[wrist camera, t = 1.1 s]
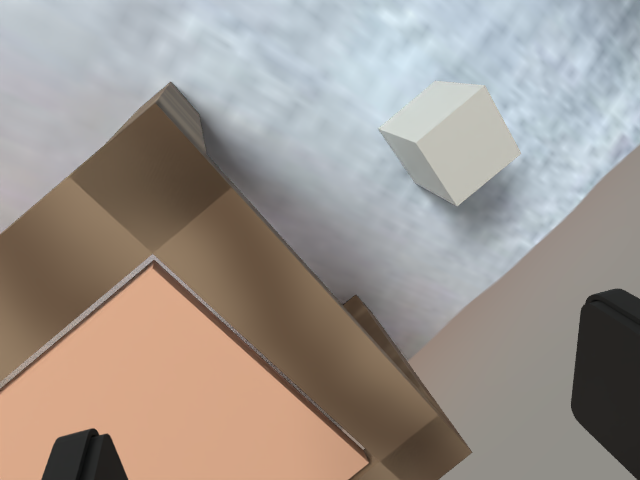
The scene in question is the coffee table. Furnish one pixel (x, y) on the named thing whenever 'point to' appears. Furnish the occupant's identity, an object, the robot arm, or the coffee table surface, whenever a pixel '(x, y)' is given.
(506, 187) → the coffee table surface
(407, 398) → the miniature wooden side table
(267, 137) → the coffee table surface
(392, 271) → the coffee table surface
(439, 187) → the light gray block
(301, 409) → the trapdoor
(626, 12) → the coffee table surface
